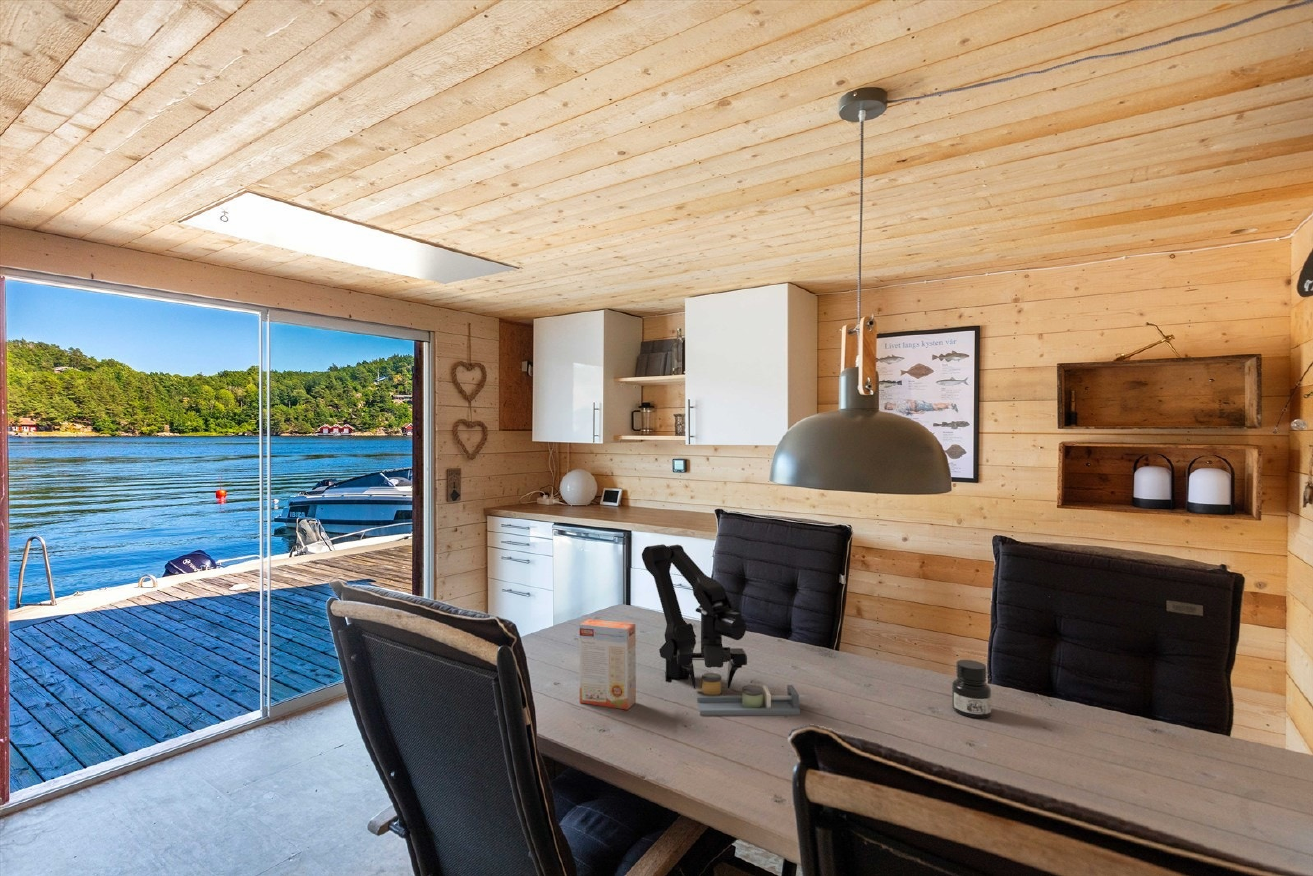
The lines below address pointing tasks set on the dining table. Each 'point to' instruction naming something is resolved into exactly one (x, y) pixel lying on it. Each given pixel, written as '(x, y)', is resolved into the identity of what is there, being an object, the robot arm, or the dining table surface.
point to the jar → (711, 683)
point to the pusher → (779, 697)
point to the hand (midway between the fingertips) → (711, 688)
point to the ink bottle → (971, 690)
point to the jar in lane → (752, 696)
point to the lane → (734, 707)
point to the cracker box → (607, 663)
